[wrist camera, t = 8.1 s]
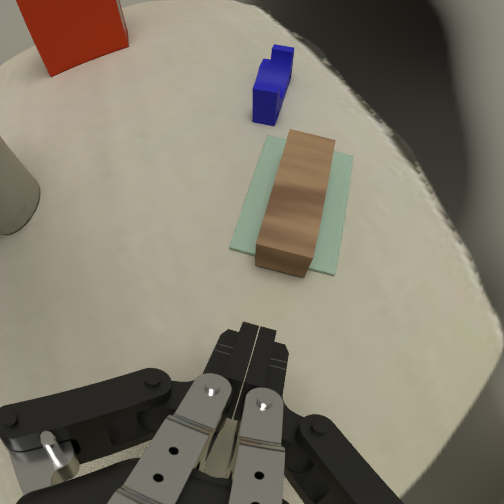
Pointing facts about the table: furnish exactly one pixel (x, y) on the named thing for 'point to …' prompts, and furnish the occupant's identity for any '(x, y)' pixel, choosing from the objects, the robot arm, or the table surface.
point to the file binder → (74, 30)
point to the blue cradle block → (272, 85)
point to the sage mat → (331, 215)
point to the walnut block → (295, 205)
